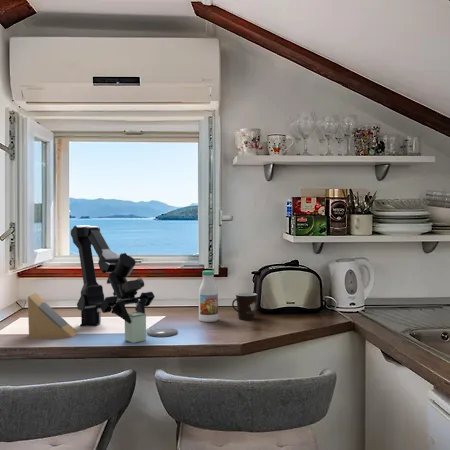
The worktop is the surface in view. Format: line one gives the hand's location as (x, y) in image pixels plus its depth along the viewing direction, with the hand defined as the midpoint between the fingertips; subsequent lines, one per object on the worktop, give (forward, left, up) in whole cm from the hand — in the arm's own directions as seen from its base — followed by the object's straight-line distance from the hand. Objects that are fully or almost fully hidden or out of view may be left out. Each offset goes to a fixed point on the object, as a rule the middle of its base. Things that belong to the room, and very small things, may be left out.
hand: (137, 321), depth 172 cm
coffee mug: (+37, +34, -7) cm, 51 cm away
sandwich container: (-32, +10, -7) cm, 34 cm away
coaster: (+7, +11, -7) cm, 15 cm away
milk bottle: (+23, +32, -7) cm, 40 cm away
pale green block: (-1, +1, -7) cm, 7 cm away
